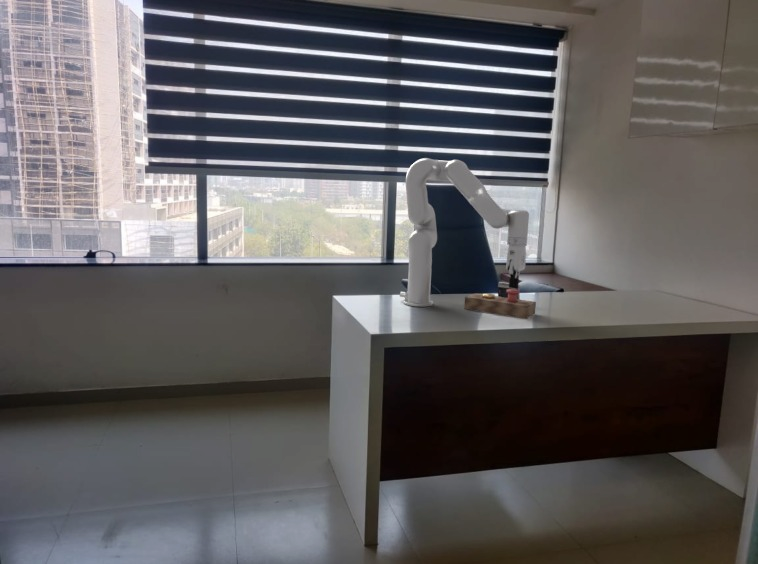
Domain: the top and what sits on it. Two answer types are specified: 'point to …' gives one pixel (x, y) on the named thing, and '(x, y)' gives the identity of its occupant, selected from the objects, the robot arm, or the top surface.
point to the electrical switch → (503, 288)
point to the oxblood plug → (512, 295)
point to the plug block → (500, 306)
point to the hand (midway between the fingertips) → (513, 287)
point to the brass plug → (488, 296)
